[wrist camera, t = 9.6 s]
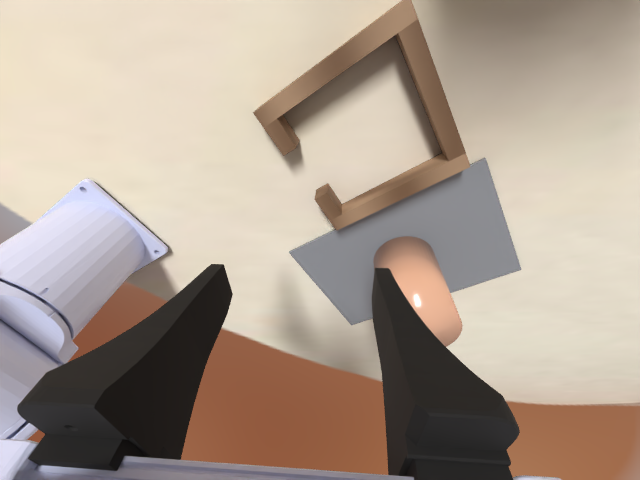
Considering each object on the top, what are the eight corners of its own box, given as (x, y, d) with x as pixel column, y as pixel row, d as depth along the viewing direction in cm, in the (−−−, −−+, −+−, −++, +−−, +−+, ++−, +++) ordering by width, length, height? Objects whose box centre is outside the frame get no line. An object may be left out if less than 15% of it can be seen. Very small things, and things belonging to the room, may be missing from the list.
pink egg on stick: (421, 312, 28) (440, 384, 22) (369, 311, 28) (374, 381, 23) (440, 236, 22) (471, 305, 17) (375, 235, 23) (385, 303, 17)
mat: (351, 323, 30) (351, 325, 30) (289, 251, 25) (289, 252, 24) (520, 268, 24) (521, 269, 24) (484, 157, 19) (485, 158, 19)
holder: (337, 219, 22) (336, 230, 21) (259, 107, 18) (253, 112, 17) (462, 158, 19) (470, 166, 18) (404, -2, 14) (409, -5, 13)
